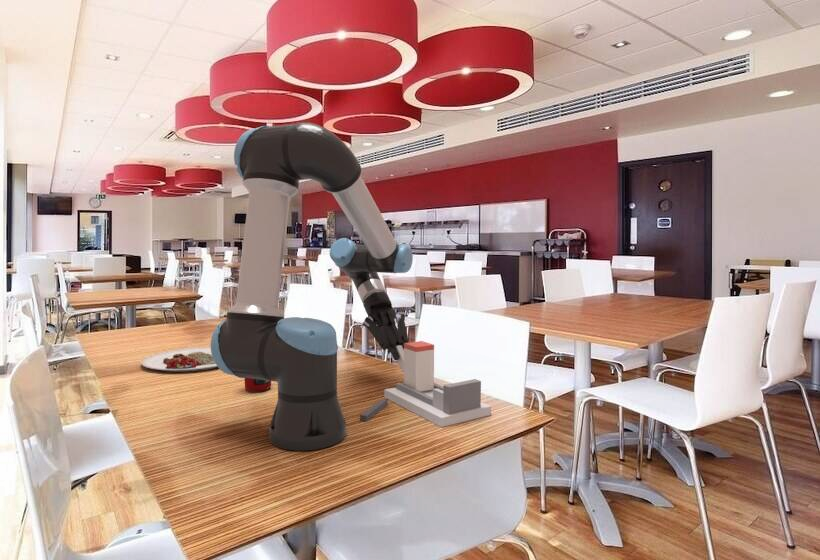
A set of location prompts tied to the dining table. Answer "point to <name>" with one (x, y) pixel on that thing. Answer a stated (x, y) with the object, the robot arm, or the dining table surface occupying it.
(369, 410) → the gray rectangular bar
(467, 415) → the gray railed slide base
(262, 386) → the beverage can
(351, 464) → the dining table surface
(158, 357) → the plated food
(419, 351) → the toggle
